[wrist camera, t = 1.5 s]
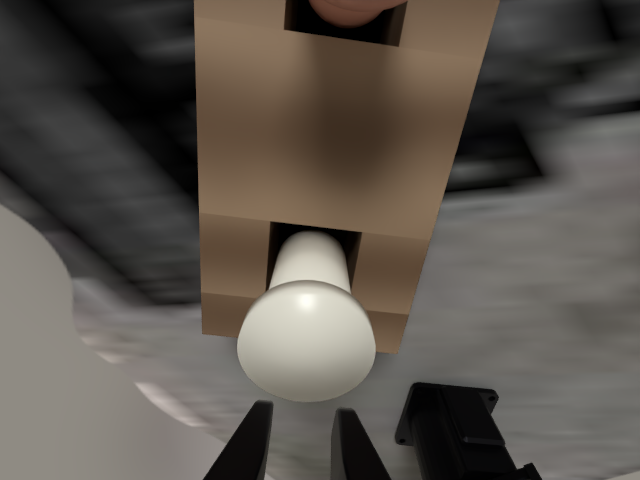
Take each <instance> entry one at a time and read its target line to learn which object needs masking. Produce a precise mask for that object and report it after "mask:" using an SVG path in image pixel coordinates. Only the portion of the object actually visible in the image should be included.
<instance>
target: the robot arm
mask: <svg viewBox="0 0 640 480" xmlns="http://www.w3.org/2000/svg"><path fill="white" fill-rule="evenodd" d="M418 389H419V390H418ZM498 398H499V397H498V395H497V393H496V391H494V390H492V389H482V388H472V387H461V386H451V385H441V384H431V383H421V382H418V383H414V384H413V385H412V387H411V390H410V393H409V396H408V399H407V402H406V405H405V408H404V411H403V414H402V417H401V420H400V423H399V426H398V429H397V432H396V435H395V438H396V442H397V444H399V445H407V446H414V449H415V453H416V456H417V460H418V464H419V468H420V472H421V476H422V479H423V480H542V478H541V477H540V475H539V473H538V472H537V470H536V468H535V466H534V465H533V463H529V464H526V465H524V467H523V468H520V469H517V468H516V466H515V464H514V462H513V460H512V458H511V457H510V455H509V453H508V451H507V449H506V447H505V441H504V439H503V437H502V435H501V433H500V431H499V429H498V427H497V425H496V424H495V422H494V420H493V418H492V416H491V413H492V411H493V409H494V407H495V405H496V403H497V401H498ZM272 415H273V402H272V401H267V400H257V401H256V402H255V403H254V405H253V406H252V408H251V409H250V411H249V412H248V414H247V415H246V416H245V418H244V419H243V421H242V422H241V424H240V425H239V427H238V428H237V430H236V431H235V433H234V434H233V436H232V437H231V439H230V440H229V442H228V443H227V445H226V446H225V448H224V449H223V451H222V452H221V454H220V455H219V457H218V458H217V460H216V461H215V462H214V464H213V465H212V467H211V468H210V470H209V472H208V473H207V474H206V476H205V477H204V479H203V480H264V476H265V469H266V462H267V455H268V448H269V440H270V433H271V425H272ZM330 480H391V478H390V476H389V474H388V472H387V470H386V469H385V467H384V465H383V463H382V461H381V459H380V457H379V455H378V454H377V452H376V450H375V448H374V446H373V444H372V442H371V440H370V439H369V437H368V435H367V433H366V431H365V429H364V427H363V425H362V423H361V422H360V420H359V418H358V416H357V414H356V412H355V411H354V410H353V409H351V408H342V407H339V408H337V410H336V414H335V418H334V423H333V428H332V435H331V479H330Z"/></svg>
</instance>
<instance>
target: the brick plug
mask: <svg viewBox="0 0 640 480" xmlns="http://www.w3.org/2000/svg"><path fill="white" fill-rule="evenodd" d="M308 1H309V3H310V4H311V6H312V8H313V9H314V10H315V12H316V13H317V14H318V15H319V16H320V17H321V18H322V19H323V20H325V21H326V22H328V23H329V24H331V25H333V26H336V27H340V28H348V29H349V28H356V27H360V26H363V25H365V24H367V23H369V22H371V21H372V20H374V19H375V18H376V17H377V16H378V15H379V14H380V13H381V12H382V11H383V10H385V9H390V8H393V7H395V6H398V5H400V4H403V3H405V2H406V1H408V0H308Z"/></svg>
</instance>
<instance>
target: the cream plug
mask: <svg viewBox="0 0 640 480" xmlns="http://www.w3.org/2000/svg"><path fill="white" fill-rule="evenodd" d="M375 353H376V346H375V340H374V335H373V331H372V326H371V321H370V319H369V316H368V314H367V312H366V310H365V308H364V307H363V306H362V304H361V303H360V302H359V301H358V300H357V299H356V298H355V297H354V296H353V295H351V291H350V284H349V277H348V270H347V263H346V257H345V252H344V249H343V247H342V246H341V244H340V243H339V242H338V240H337V239H335V238H334V237H333V236H331V235H330V234H328V233H326V232H323V231H319V230H303V231H300V232H297V233H295V234H293V235H291V236H290V237H289V238H287V239H286V240H285V242H284V243H283V244H282V246H281V248H280V250H279V253H278V257H277V261H276V264H275V268H274V272H273V275H272V279H271V283H270V287H269V290H267V291H266V292H264V293H263V294H262V295H260V296H259V297H258V298H257V299H256V300H255V301H254V302H253V303H252V305H251V306H250V308H249V309H248V312H247V314H246V316H245V319H244V322H243V325H242V327H241V330H240V334H239V337H238V342H237V354H238V358H239V361H240V364H241V366H242V368H243V370H244V372H245V373H246V375H247V376H248V377H249V378H250V379H251V380H252V381H253V382H254V383H255V384H256V385H257V386H259V387H260V388H261V389H263V390H264V391H266V392H268V393H270V394H272V395H274V396H277V397H279V398H282V399H286V400H290V401H297V402H319V401H325V400H329V399H333V398H336V397H339V396H341V395H343V394H345V393H347V392H349V391H351V390H352V389H354V388H355V387H356V386H358V385H359V384H360V383H361V382H362V381H363V380H364V379H365V377H366V376H367V375H368V373H369V372H370V370H371V368H372V366H373V363H374V359H375Z"/></svg>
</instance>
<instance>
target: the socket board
mask: <svg viewBox="0 0 640 480" xmlns="http://www.w3.org/2000/svg"><path fill="white" fill-rule="evenodd" d="M298 1H299V0H194V18H195V59H196V100H197V141H198V182H199V222H200V263H201V304H202V334H207V335H217V336H226V337H236V338H238V337H239V334H240V330H241V327H242V325H243V322H244V319H245V316H246V314H247V312H248V309H249V308H250V306H251V305H252V303H253V302H254V301H255V300H256V299H257V298H258V297H259V296H260V295H262V294H263V293H264V292H266V291H267V290H269V287H270V283H271V279H272V275H273V272H274V268H275V264H276V261H277V257H278V242H279V230H280V222H282V223H291V224H299V225H307V226H316V227H324V228H332V229H341V230H347V234H346V239H345V245H344V252H345V257H346V263H347V270H348V277H349V284H350V291H351V295H353V296H354V297H355V298H356V299H357V300H358V301H359V302H360V303H361V304H362V306H363V307H364V308H365V310H366V312H367V314H368V316H369V319H370V321H371V326H372V331H373V335H374V340H375V346H376V352H383V353H393V354H397V353H398V350H399V347H400V343H401V340H402V336H403V333H404V329H405V326H406V322H407V319H408V316H409V312H410V309H411V305H412V302H413V298H414V295H415V291H416V288H417V284H418V281H419V278H420V274H421V271H422V267H423V264H424V260H425V257H426V253H427V250H428V247H429V243H430V240H431V236H432V233H433V229H434V226H435V222H436V219H437V216H438V212H439V209H440V205H441V202H442V198H443V195H444V191H445V188H446V184H447V181H448V178H449V174H450V171H451V167H452V164H453V160H454V157H455V153H456V150H457V147H458V143H459V140H460V136H461V133H462V129H463V126H464V122H465V119H466V116H467V112H468V109H469V105H470V102H471V98H472V95H473V91H474V88H475V84H476V81H477V78H478V74H479V71H480V67H481V64H482V60H483V57H484V53H485V50H486V47H487V43H488V40H489V36H490V33H491V29H492V26H493V22H494V19H495V16H496V12H497V9H498V5H499V2H500V0H408V1H406V2H405V3H403V4H400V5H398V6H395V7H393V8H390V9H385V15H384V21H383V27H382V32H381V38H380V44H375V43H369V42H362V41H355V40H348V39H341V38H335V37H328V36H321V35H314V34H308V33H301V32H296V25H297V13H298Z"/></svg>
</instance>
